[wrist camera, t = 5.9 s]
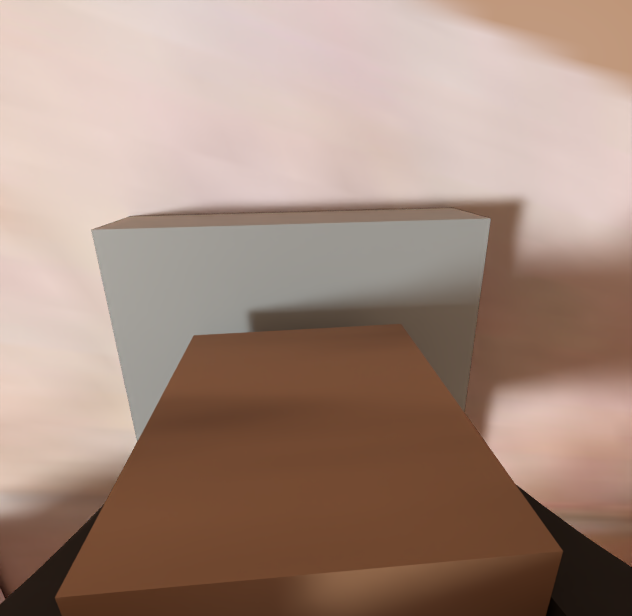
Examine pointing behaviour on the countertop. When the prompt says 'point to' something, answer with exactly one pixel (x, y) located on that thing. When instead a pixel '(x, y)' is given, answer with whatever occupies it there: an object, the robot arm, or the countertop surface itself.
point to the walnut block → (311, 492)
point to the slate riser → (289, 283)
